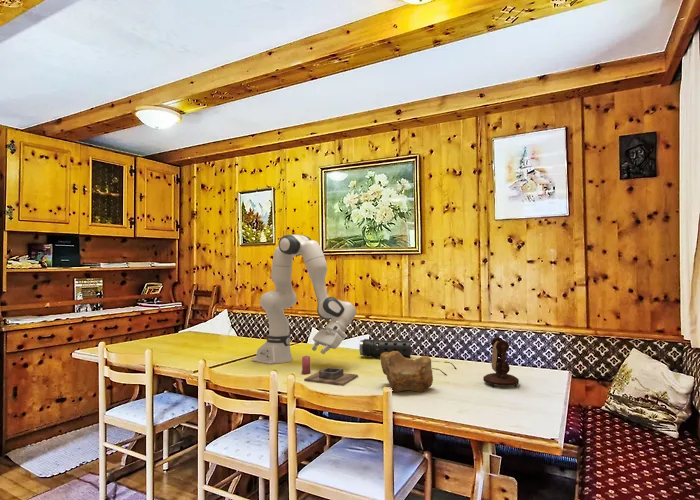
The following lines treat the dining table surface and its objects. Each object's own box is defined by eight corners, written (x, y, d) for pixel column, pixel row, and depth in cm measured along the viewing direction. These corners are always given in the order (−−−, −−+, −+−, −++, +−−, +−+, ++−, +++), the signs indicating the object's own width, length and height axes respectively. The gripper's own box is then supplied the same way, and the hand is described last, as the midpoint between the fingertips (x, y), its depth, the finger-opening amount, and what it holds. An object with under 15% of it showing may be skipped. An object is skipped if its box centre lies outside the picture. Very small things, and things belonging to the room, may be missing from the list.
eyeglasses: (423, 365, 232) (423, 355, 232) (458, 369, 221) (458, 359, 221) (410, 371, 218) (410, 361, 218) (446, 377, 208) (446, 366, 208)
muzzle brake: (409, 361, 240) (409, 342, 240) (359, 359, 245) (359, 340, 246) (410, 357, 249) (410, 338, 249) (362, 355, 255) (362, 337, 255)
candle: (300, 374, 215) (300, 355, 215) (304, 372, 219) (304, 354, 219) (307, 374, 213) (307, 356, 213) (311, 372, 217) (311, 354, 217)
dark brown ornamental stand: (479, 379, 201) (478, 335, 201) (512, 379, 201) (511, 335, 201) (488, 389, 186) (487, 341, 187) (524, 389, 186) (523, 341, 186)
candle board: (304, 380, 203) (304, 372, 203) (321, 372, 217) (320, 364, 217) (343, 385, 194) (343, 376, 194) (358, 376, 208) (357, 368, 209)
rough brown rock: (370, 393, 185) (370, 358, 184) (383, 380, 200) (383, 347, 199) (425, 402, 176) (424, 365, 175) (434, 387, 191) (434, 353, 190)
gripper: (320, 323, 232) (304, 344, 227) (340, 328, 215) (323, 351, 210) (327, 331, 235) (311, 352, 229) (348, 336, 217) (331, 359, 212)
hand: (317, 351), depth 219 cm, fingers open, 8 cm apart
